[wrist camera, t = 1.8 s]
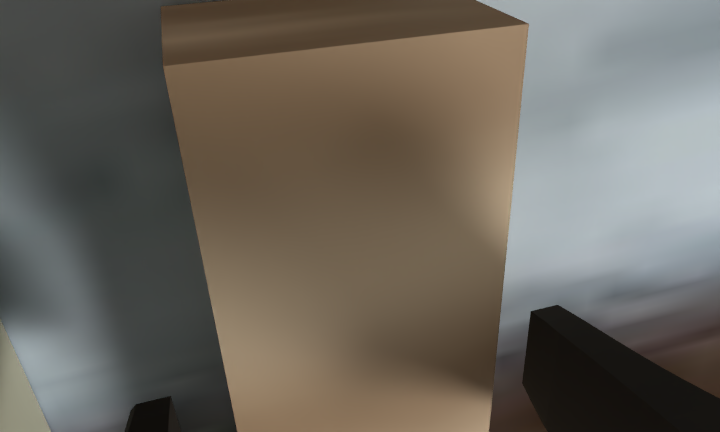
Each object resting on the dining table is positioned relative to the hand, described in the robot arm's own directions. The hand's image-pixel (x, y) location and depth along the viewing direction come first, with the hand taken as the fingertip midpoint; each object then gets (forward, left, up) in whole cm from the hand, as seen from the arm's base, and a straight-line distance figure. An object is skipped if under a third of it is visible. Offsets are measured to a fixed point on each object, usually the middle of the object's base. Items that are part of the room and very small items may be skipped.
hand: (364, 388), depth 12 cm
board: (0, 0, -3) cm, 3 cm away
